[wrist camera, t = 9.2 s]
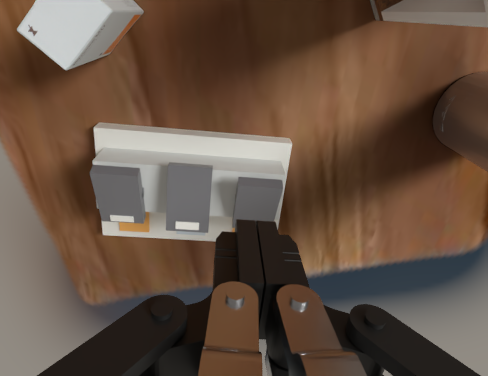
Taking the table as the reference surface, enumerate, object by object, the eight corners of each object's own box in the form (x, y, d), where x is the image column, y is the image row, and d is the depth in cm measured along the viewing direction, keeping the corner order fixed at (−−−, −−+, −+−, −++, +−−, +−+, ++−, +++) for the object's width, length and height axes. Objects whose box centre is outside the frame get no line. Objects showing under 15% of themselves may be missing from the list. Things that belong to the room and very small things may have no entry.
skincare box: (110, 56, 38) (64, 74, 27) (75, 24, 36) (12, 29, 25) (147, 10, 36) (114, 11, 25) (112, -25, 34) (61, -41, 24)
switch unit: (289, 138, 42) (298, 156, 37) (273, 236, 49) (279, 264, 43) (99, 122, 41) (80, 139, 35) (107, 226, 47) (92, 254, 41)
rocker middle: (212, 164, 37) (212, 168, 35) (208, 226, 39) (208, 233, 37) (170, 160, 37) (167, 165, 35) (168, 223, 39) (165, 230, 37)
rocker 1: (141, 163, 35) (137, 177, 34) (146, 211, 40) (143, 224, 39) (94, 160, 35) (88, 174, 33) (106, 208, 40) (101, 222, 38)
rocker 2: (281, 175, 36) (283, 189, 35) (270, 217, 41) (271, 231, 40) (238, 172, 36) (238, 186, 34) (232, 214, 41) (232, 228, 40)
